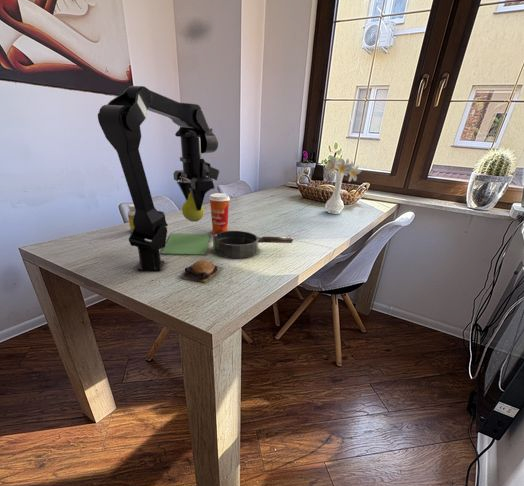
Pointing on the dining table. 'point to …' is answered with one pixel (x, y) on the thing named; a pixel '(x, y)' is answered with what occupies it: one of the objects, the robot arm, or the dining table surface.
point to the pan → (235, 244)
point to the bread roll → (200, 271)
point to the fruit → (191, 210)
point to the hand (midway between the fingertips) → (194, 207)
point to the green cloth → (186, 244)
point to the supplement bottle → (131, 215)
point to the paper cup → (219, 212)
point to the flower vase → (339, 182)
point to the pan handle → (274, 239)
